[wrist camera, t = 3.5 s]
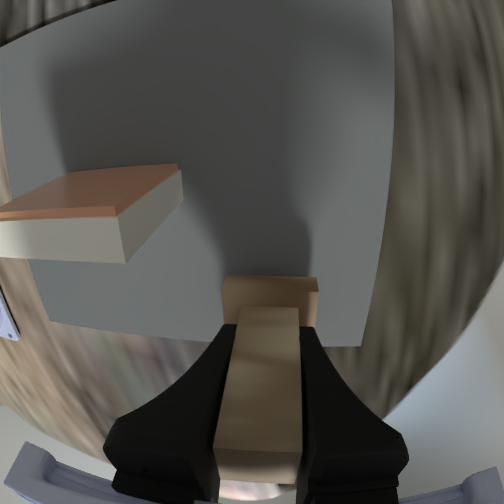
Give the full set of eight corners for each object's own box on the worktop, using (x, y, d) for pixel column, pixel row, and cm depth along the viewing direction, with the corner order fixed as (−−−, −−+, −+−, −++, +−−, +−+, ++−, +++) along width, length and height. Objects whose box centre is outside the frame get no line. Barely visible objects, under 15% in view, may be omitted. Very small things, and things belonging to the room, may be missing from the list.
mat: (53, 316, 19) (49, 320, 19) (5, 48, 11) (-1, 48, 11) (359, 340, 17) (360, 346, 17) (387, -8, 9) (390, -11, 9)
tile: (75, 203, 15) (-3, 256, 9) (70, 171, 14) (-15, 214, 9) (183, 200, 14) (125, 263, 9) (180, 163, 13) (115, 207, 8)
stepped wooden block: (229, 342, 16) (200, 484, 9) (225, 274, 14) (179, 428, 7) (308, 344, 16) (315, 491, 9) (316, 277, 14) (337, 437, 7)
